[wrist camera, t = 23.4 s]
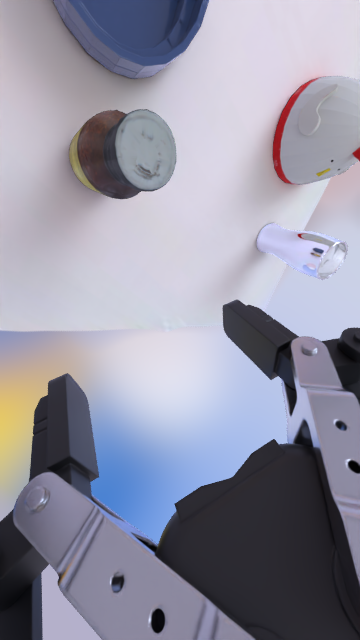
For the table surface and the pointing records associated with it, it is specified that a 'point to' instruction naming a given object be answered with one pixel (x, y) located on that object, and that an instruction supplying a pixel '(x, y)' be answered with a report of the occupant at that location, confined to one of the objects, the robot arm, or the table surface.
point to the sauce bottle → (123, 153)
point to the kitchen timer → (318, 131)
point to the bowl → (133, 31)
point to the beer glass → (303, 250)
